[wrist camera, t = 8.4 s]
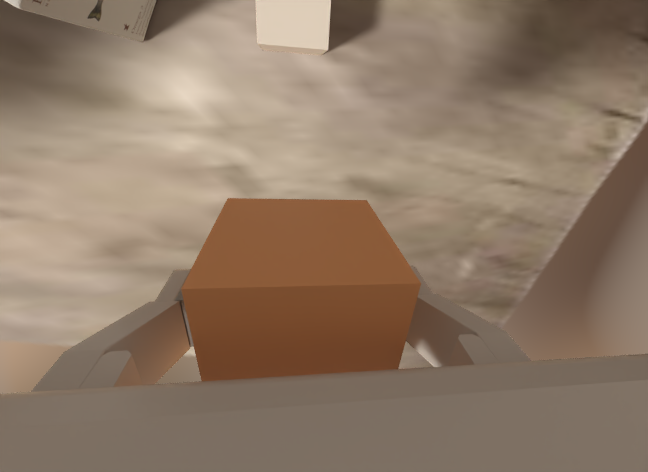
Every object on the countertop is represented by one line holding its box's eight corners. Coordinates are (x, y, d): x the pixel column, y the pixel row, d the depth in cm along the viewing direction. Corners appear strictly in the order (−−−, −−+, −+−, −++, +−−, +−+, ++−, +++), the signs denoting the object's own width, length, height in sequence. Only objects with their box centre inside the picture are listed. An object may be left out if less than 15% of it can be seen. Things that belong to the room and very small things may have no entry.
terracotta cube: (228, 198, 10) (180, 288, 6) (366, 200, 11) (421, 282, 6) (239, 307, 12) (213, 430, 8) (352, 303, 13) (385, 416, 9)
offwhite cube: (260, -27, 22) (253, -54, 18) (324, -19, 23) (333, -44, 18) (262, 50, 24) (257, 43, 20) (321, 55, 25) (328, 50, 21)
